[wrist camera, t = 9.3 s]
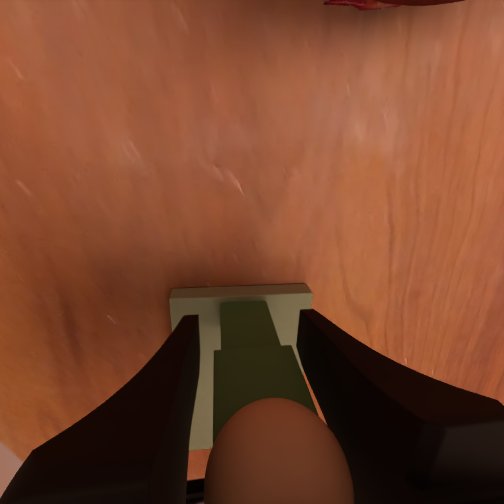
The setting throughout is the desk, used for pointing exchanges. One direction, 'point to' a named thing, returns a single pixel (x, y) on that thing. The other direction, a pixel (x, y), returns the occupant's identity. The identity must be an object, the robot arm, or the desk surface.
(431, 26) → the desk surface
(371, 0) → the decorative bird figurine
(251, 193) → the desk surface
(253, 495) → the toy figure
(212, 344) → the toy stand
